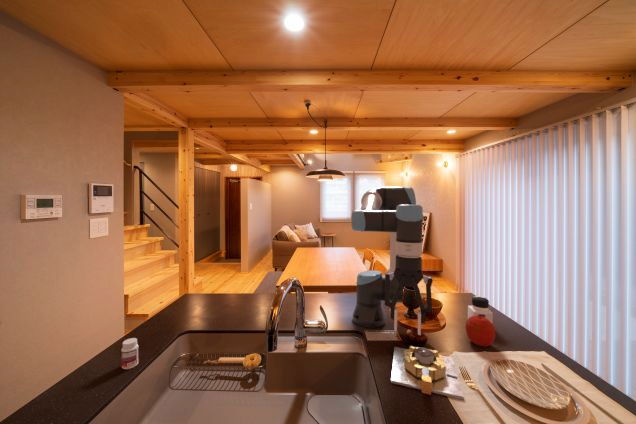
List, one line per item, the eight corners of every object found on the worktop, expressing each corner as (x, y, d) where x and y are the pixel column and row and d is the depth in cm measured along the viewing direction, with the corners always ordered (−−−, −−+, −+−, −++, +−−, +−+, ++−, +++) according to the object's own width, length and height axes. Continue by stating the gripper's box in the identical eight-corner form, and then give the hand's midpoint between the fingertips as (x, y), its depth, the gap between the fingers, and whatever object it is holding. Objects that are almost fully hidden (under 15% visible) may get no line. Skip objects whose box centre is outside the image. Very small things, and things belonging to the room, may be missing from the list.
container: (492, 330, 114) (493, 301, 113) (473, 328, 115) (474, 300, 115) (485, 322, 121) (485, 295, 121) (467, 321, 123) (467, 294, 122)
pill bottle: (127, 361, 89) (127, 337, 89) (141, 360, 89) (141, 337, 89) (117, 370, 84) (117, 345, 84) (133, 369, 85) (132, 344, 84)
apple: (459, 338, 106) (460, 311, 106) (479, 336, 109) (480, 309, 108) (479, 352, 96) (480, 322, 96) (501, 349, 99) (502, 319, 98)
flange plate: (394, 348, 98) (394, 331, 98) (452, 359, 91) (453, 341, 91) (390, 382, 79) (391, 361, 79) (463, 399, 73) (464, 376, 72)
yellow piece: (404, 352, 93) (404, 342, 93) (442, 360, 89) (442, 348, 89) (403, 388, 75) (403, 375, 75) (450, 399, 71) (451, 385, 71)
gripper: (375, 255, 77) (373, 331, 78) (445, 260, 71) (443, 343, 71) (377, 251, 84) (376, 320, 85) (441, 255, 78) (440, 330, 78)
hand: (407, 330), depth 78 cm, fingers open, 6 cm apart
